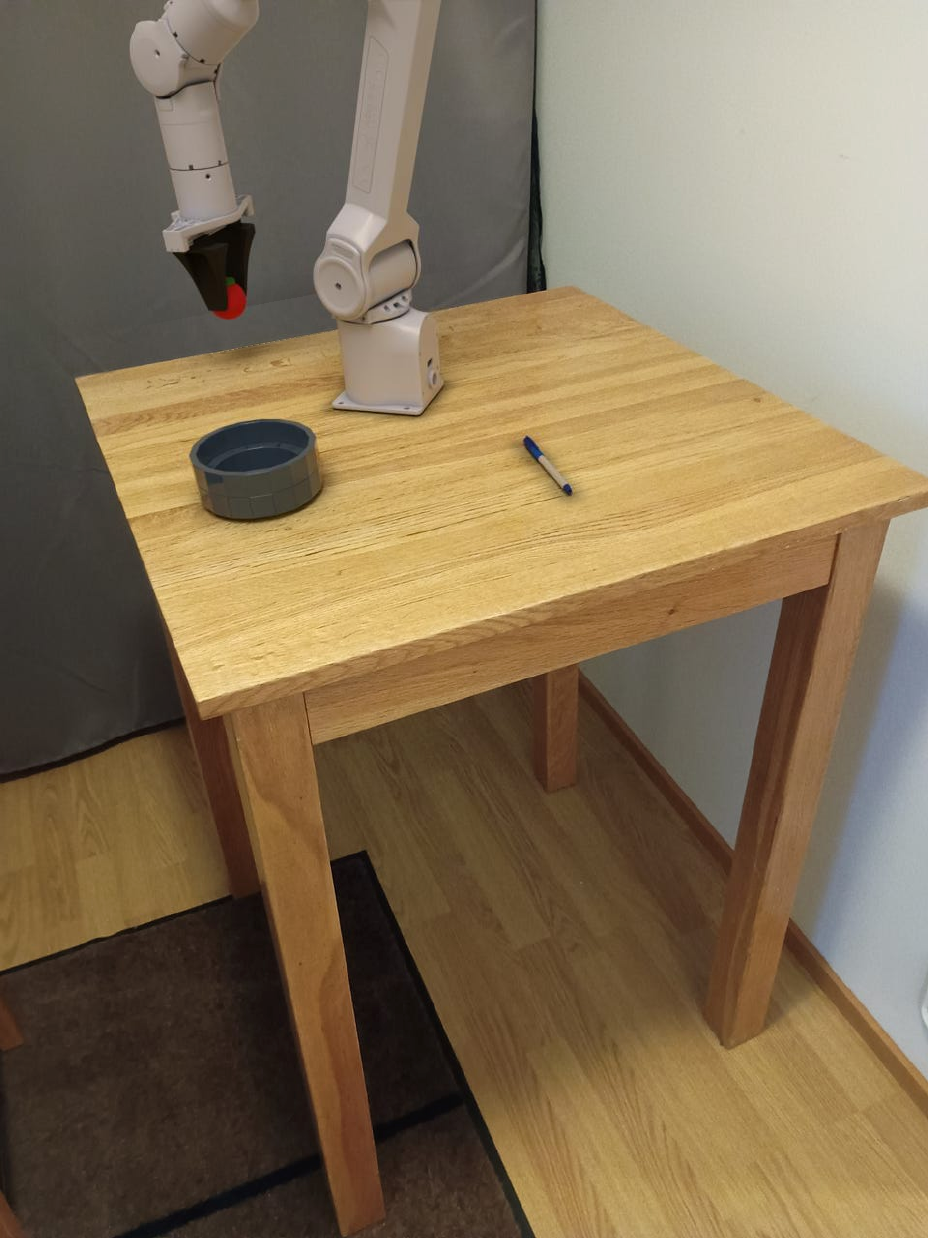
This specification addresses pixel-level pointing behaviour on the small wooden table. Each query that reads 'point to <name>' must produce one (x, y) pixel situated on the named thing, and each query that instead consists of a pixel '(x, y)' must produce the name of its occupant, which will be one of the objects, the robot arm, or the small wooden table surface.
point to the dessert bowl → (257, 468)
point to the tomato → (233, 301)
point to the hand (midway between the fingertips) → (228, 303)
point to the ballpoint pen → (546, 464)
